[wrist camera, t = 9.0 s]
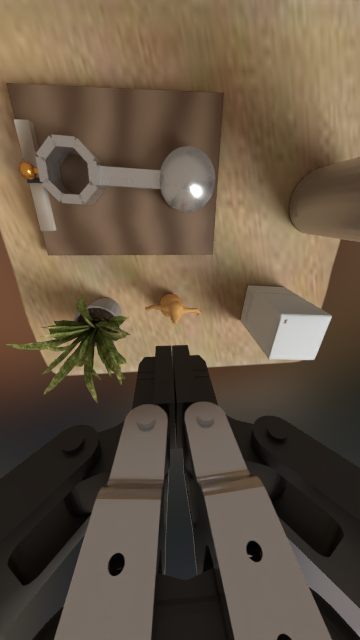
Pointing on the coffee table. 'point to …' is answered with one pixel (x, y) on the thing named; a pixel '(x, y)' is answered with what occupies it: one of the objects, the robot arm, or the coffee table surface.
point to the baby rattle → (126, 175)
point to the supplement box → (283, 323)
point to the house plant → (86, 341)
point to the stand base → (119, 165)
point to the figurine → (172, 307)
